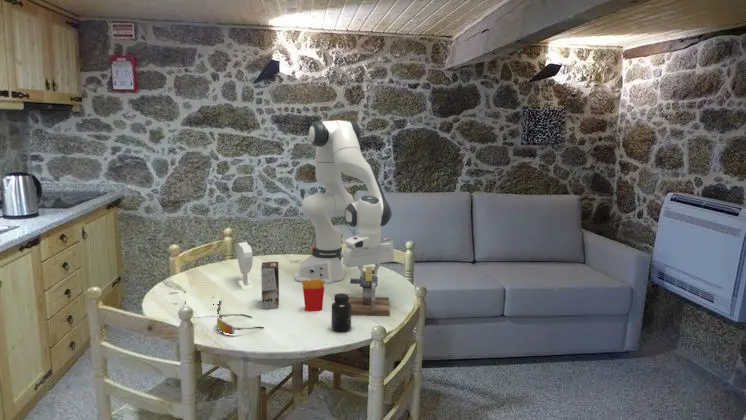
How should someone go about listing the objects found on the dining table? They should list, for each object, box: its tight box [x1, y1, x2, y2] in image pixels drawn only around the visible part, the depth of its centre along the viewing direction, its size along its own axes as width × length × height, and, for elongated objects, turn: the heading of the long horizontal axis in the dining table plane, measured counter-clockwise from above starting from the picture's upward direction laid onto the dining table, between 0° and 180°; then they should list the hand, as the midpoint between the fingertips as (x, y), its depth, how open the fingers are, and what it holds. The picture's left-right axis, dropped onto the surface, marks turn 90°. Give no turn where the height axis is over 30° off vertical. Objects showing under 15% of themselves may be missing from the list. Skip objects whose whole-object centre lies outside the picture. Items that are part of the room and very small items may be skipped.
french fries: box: [301, 279, 325, 312], centre depth 188 cm, size 8×4×12 cm, turn 99°
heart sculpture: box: [236, 241, 253, 286], centre depth 214 cm, size 16×5×18 cm, turn 26°
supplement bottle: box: [330, 293, 352, 333], centre depth 171 cm, size 7×7×12 cm
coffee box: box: [260, 261, 280, 310], centre depth 192 cm, size 9×6×16 cm
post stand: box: [348, 282, 391, 317], centre depth 190 cm, size 14×16×12 cm
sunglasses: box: [216, 313, 265, 335], centre depth 172 cm, size 14×15×5 cm
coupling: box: [349, 266, 379, 289], centre depth 189 cm, size 9×10×6 cm
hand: (368, 275), depth 188 cm, fingers closed on coupling, 3 cm apart
